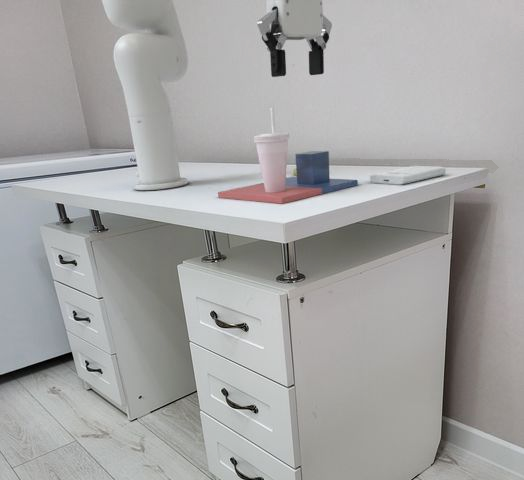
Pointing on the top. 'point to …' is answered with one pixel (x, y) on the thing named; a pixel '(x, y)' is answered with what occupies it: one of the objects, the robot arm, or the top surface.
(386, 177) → the hard drive
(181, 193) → the top surface
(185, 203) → the top surface
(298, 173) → the blue block
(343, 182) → the board
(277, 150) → the smoothie
